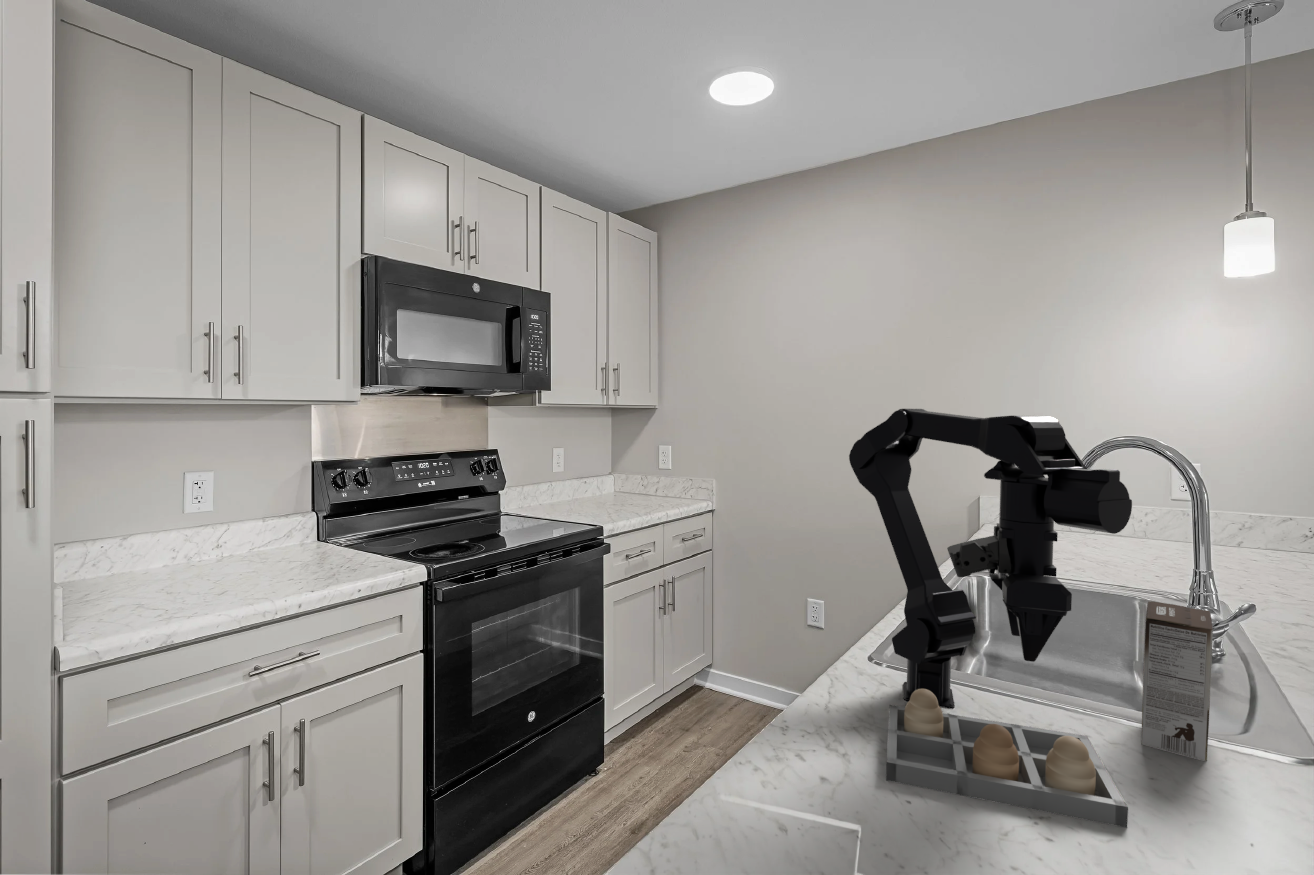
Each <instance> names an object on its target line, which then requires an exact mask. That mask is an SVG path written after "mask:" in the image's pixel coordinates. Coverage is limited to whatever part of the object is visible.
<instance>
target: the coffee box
mask: <svg viewBox="0 0 1314 875" xmlns="http://www.w3.org/2000/svg"><path fill="white" fill-rule="evenodd" d="M1213 634H1214V628H1213V620H1212V615H1211V611H1210V610H1205V609H1198V608H1192V607H1188V606H1185V605H1178V604H1173V603H1166V602H1160V601H1153V600H1151V601H1147V604H1146V614H1145V625H1144V647H1143V648H1144V650H1143V670H1142V672H1143V673H1142V700H1141V701H1142V704H1141V705H1142V706H1141V733H1140V734H1141V736H1140V737H1141V740H1140V741H1141V745H1143V746H1146V747H1151V748H1153V749H1158V750H1160V751H1164V752H1169V753H1173V754H1176V755H1180V756H1184V757H1187V758H1191V759H1195V760H1199V761H1203V762H1207V761H1208V747H1209V746H1208V743H1209V728H1210V727H1209V726H1210V710H1211V707H1210V706H1211V686H1212V661H1213V658H1212V657H1213Z"/></svg>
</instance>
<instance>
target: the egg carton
mask: <svg viewBox="0 0 1314 875" xmlns="http://www.w3.org/2000/svg"><path fill="white" fill-rule="evenodd" d="M905 707H906V706H900V705H894V704H889V707H888V724H887V725H888V726H887V727H888V728H887V744H886V745H887V746H886V747H887V748H886V764H885V766H886V769H885V770H886V772H885V773H886V774H885V778H886V779H885V780H886V782H891V783H898V784H901V785H907V786H911V787H919V788H922V789H928V790H933V791H939V792H943V793H948V794H952V795H958V796H963V797H969V798H973V799H979V800H984V801H989V802H994V803H999V804H1003V805H1008V806H1015V807H1020V808H1024V809H1029V810H1034V811H1035V810H1036V811H1039V812H1045V813H1051V814H1054V815H1060V816H1064V817H1070V818H1073V819H1074V818H1075V819H1080V820H1086V821H1090V822H1096V823H1099V824H1100V823H1101V824H1104V825H1105V824H1107V825H1110V826H1115V827H1121V828H1126V829H1127V828H1128V817H1129V815H1128V814H1129V807H1128V805H1127V803H1126V801H1125V800H1124V797H1123V795H1122V794H1121V792H1120V791H1119V789H1118V787H1117V786H1116V783H1115V781H1114V780H1113V778H1112V776H1111V774H1110V773H1109V771H1108V769H1107V768H1106V766H1105V765H1104V763H1103V760H1102V759H1101V757H1100V756H1099V754H1098V752H1097V750H1096V749H1095V747H1094V745H1093V744H1092V742H1091V740H1090V738H1089V736H1088V735H1085V734H1078V733H1071V732H1066V731H1061V730H1059V731H1058V730H1052V729H1048V728H1047V729H1046V728H1039V727H1036V726H1035V727H1033V726H1027V725H1022V724H1021V725H1019V724H1016V723H1015V724H1014V723H1009V722H1008V723H1007V722H1003V721H995V720H990V719H989V720H988V719H983V718H976V717H970V716H964V715H959V714H952V713H951V714H950V713H945V712H942V713H943V738H939V737H933V736H927V735H922V734H916V733H910V732H904V712H905ZM989 724H998V725H1001V726H1003V727H1004V728H1005V729H1007V730H1008V732H1009V733H1010V734H1011V736H1012V739H1013V744H1014V745H1015V747H1016V749H1017V751H1018V755H1019V773H1018V782H1017V781H1012V780H1006V779H1001V778H995V777H990V776H984V775H979V774H974V773H972V770H973V746H974V743H975V741H976V739H977V738H978V737H979V736H980V732H981V730H982V729H983V728H984V727H985V726H986V725H989ZM1062 736H1072V737H1075V738H1077V739H1079V740H1080V741H1081V742H1083V744H1084V745H1085V746H1086V747H1087V749H1088V752H1089V757H1090V759H1091V760H1092V762H1093V764H1094V766H1095V770H1096V783H1095V796H1093V795H1087V794H1082V793H1077V792H1071V791H1066V790H1060V789H1055V788H1049V787H1045V774H1046V757H1047V755H1048V753H1049V751H1050V750H1051V749H1052V748H1053V745H1054V743H1055V741H1056V740H1057V739H1058V738H1060V737H1062Z"/></svg>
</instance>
